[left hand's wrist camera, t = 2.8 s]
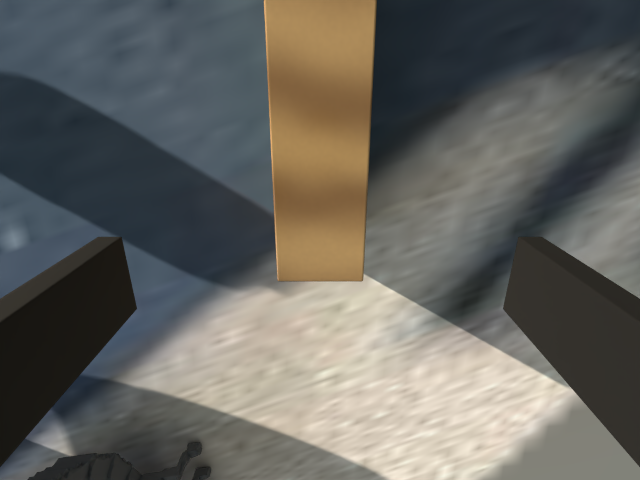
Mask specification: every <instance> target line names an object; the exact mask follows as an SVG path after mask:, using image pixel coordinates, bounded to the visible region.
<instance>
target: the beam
mask: <svg viewBox="0 0 640 480" xmlns="http://www.w3.org/2000/svg"><path fill="white" fill-rule="evenodd" d="M376 8H377V0H264V11H265V32H266V52H267V73H268V94H269V114H270V135H271V156H272V177H273V197H274V218H275V239H276V260H277V280H278V281H363V273H364V253H365V233H366V212H367V192H368V171H369V151H370V130H371V110H372V90H373V69H374V49H375V28H376Z"/></svg>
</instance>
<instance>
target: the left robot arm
mask: <svg viewBox="0 0 640 480" xmlns="http://www.w3.org/2000/svg"><path fill="white" fill-rule="evenodd" d="M136 309H137V307H136V302H135V298H134V293H133V288H132V284H131V279H130V274H129V270H128V265H127V260H126V256H125V251H124V246H123V242H122V237H97V238H96V239H94V240H93V241H91V242H90V243H88V244H86V245H85V246H83V247H82V248H80V249H78V250H77V251H75V252H74V253H72V254H71V255H69V256H67V257H66V258H64V259H63V260H61V261H59V262H58V263H56V264H55V265H53V266H52V267H50V268H48V269H47V270H45V271H44V272H42V273H40V274H39V275H37V276H36V277H34V278H33V279H31V280H29V281H28V282H26V283H25V284H23V285H21V286H20V287H18V288H17V289H15V290H14V291H12V292H10V293H9V294H7V295H6V296H4V297H2V298H1V299H0V467H1V465H2V464H3V463H4V462H5V461H6V460H7V459H8V457H9V456H10V455H11V454H12V453H13V452H14V450H15V449H16V448H17V447H18V446H19V445H20V443H21V442H22V441H23V440H24V439H25V438H26V437H27V435H28V434H29V433H30V432H31V431H32V430H33V428H34V427H35V426H36V425H37V424H38V423H39V421H40V420H41V419H42V418H43V417H44V416H45V415H46V413H47V412H48V411H49V410H50V409H51V408H52V406H53V405H54V404H55V403H56V402H57V401H58V399H59V398H60V397H61V396H62V395H63V394H64V393H65V391H66V390H67V389H68V388H69V387H70V386H71V384H72V383H73V382H74V381H75V380H76V379H77V377H78V376H79V375H80V374H81V373H82V372H83V371H84V369H85V368H86V367H87V366H88V365H89V364H90V362H91V361H92V360H93V359H94V358H95V357H96V355H97V354H98V353H99V352H100V351H101V350H102V349H103V347H104V346H105V345H106V344H107V343H108V342H109V340H110V339H111V338H112V337H113V336H114V335H115V334H116V332H117V331H118V330H119V329H120V328H121V327H122V325H123V324H124V323H125V322H126V321H127V320H128V318H129V317H130V316H131V315H132V314H133V313H134V312H135V310H136ZM503 309H504V310H505V312H506V313H507V314H508V315H509V316H510V317H511V318H512V320H513V321H514V322H515V323H516V324H517V325H518V327H519V328H520V329H521V330H522V331H523V332H524V334H525V335H526V336H527V337H528V338H529V339H530V340H531V342H532V343H533V344H534V345H535V346H536V347H537V349H538V350H539V351H540V352H541V353H542V354H543V355H544V357H545V358H546V359H547V360H548V361H549V362H550V364H551V365H552V366H553V367H554V368H555V369H556V371H557V372H558V373H559V374H560V375H561V376H562V377H563V379H564V380H565V381H566V382H567V383H568V384H569V386H570V387H571V388H572V389H573V390H574V391H575V393H576V394H577V395H578V396H579V397H580V398H581V399H582V401H583V402H584V403H585V404H586V405H587V406H588V408H589V409H590V410H591V411H592V412H593V413H594V415H595V416H596V417H597V418H598V419H599V420H600V421H601V423H602V424H603V425H604V426H605V427H606V428H607V430H608V431H609V432H610V433H611V434H612V435H613V436H614V438H615V439H616V440H617V441H618V442H619V443H620V445H621V446H622V447H623V448H624V449H625V450H626V452H627V453H628V454H629V455H630V456H631V457H632V458H633V460H634V461H635V462H636V463H637V464H638V465H639V467H640V299H639V298H638V297H636V296H634V295H633V294H631V293H630V292H628V291H626V290H625V289H623V288H622V287H620V286H619V285H617V284H615V283H614V282H612V281H611V280H609V279H607V278H606V277H604V276H603V275H601V274H600V273H598V272H596V271H595V270H593V269H592V268H590V267H588V266H587V265H585V264H584V263H582V262H581V261H579V260H577V259H576V258H574V257H573V256H571V255H569V254H568V253H566V252H565V251H563V250H562V249H560V248H558V247H557V246H555V245H554V244H552V243H550V242H549V241H547V240H546V239H544V238H543V237H518V242H517V246H516V251H515V256H514V260H513V265H512V270H511V274H510V279H509V284H508V288H507V293H506V298H505V302H504V307H503Z"/></svg>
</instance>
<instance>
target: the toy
mask: <svg viewBox="0 0 640 480" xmlns="http://www.w3.org/2000/svg"><path fill="white" fill-rule="evenodd" d="M201 451H202V447H201V445H200V442H199V443H191V444H188V447H187V450H186V451H185V452H183V453H182V456H181V458H180V460H179V462H178V465H177V467H173V468H168V469H164V470H163V471H162V472H155V473H148V474H144V475H141V474H140V473H138V472H137V471H136V470H135V469H134V468H133V467H132V465H131V463H130V462H126V461H125V459H124V458H120V456H119V454H116V453H109V454H108V453H107V454H100V455H97V453H93V454H86V455H78V456H70V457H63V458H59V459H58V460H57V461H56V463H55V464H54V466H52V467H48V468H46V469H45V470H44V471H42V472H37V473H36V475H35V476H34V477H29V479H28V480H180V479H181V476H182V474H183V471H184V468H185V466H186V465H187V463H188V461H189V460H190V458H192V457H195V456H198V455H200V454H201ZM210 474H211V469H210V467H206V468H198V469H196V470H195V473H194V476H193V479H192V480H203V479H206V478H208V477H210Z"/></svg>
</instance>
